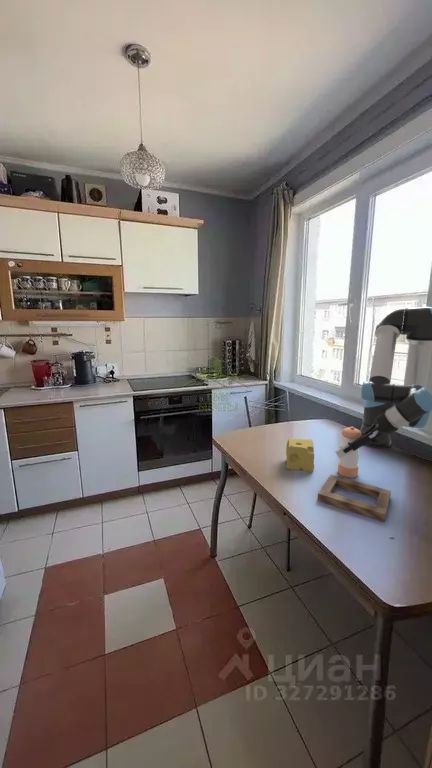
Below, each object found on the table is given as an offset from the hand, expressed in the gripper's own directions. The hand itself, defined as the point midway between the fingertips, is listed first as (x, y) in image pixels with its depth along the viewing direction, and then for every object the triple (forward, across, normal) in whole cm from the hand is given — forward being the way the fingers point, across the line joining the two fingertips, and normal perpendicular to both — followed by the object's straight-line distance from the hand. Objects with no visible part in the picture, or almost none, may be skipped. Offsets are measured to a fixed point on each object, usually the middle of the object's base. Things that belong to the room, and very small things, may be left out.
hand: (339, 452), depth 125 cm
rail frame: (-1, -18, -12) cm, 22 cm away
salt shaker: (+3, 0, -8) cm, 9 cm away
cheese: (+16, -4, +4) cm, 17 cm away
